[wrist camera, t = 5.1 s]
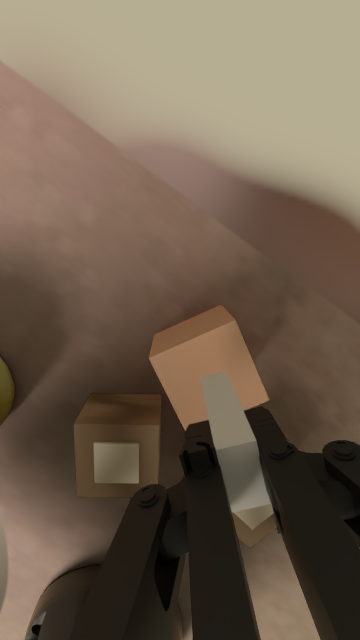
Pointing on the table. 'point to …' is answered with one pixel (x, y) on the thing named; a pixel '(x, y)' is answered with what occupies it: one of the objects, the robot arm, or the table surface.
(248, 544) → the walnut block
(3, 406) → the mug
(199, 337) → the plain block
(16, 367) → the table surface
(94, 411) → the walnut block
